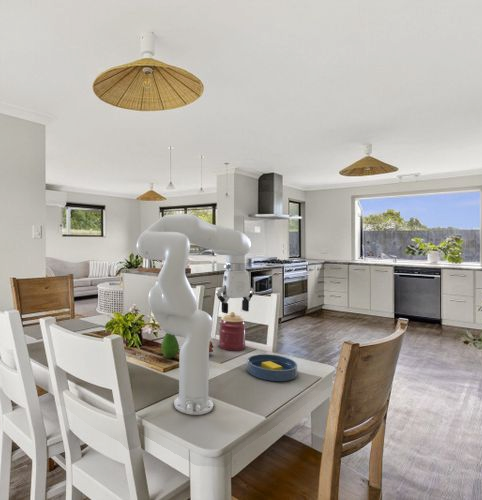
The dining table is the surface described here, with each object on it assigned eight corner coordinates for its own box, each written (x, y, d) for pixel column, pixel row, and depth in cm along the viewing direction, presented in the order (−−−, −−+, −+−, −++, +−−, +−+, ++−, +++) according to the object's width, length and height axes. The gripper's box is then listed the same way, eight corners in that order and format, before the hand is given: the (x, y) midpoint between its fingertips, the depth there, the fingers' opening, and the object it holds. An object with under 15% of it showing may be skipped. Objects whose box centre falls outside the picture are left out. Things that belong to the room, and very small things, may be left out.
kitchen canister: (218, 350, 175) (219, 314, 174) (218, 342, 188) (219, 308, 187) (246, 351, 173) (247, 315, 172) (244, 343, 186) (245, 309, 185)
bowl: (303, 383, 136) (303, 371, 136) (251, 381, 138) (251, 369, 138) (289, 365, 155) (289, 355, 155) (244, 363, 157) (244, 353, 157)
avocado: (159, 360, 160) (159, 333, 160) (163, 354, 168) (163, 329, 167) (177, 362, 158) (177, 335, 158) (180, 356, 166) (180, 330, 166)
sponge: (282, 373, 144) (282, 366, 144) (273, 375, 142) (273, 368, 142) (269, 367, 151) (269, 360, 151) (261, 369, 149) (261, 362, 149)
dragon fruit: (212, 355, 172) (197, 366, 163) (199, 342, 175) (184, 352, 167) (220, 344, 167) (206, 354, 158) (207, 331, 171) (192, 340, 162)
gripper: (223, 269, 131) (222, 315, 132) (260, 267, 139) (259, 311, 139) (211, 267, 138) (210, 311, 139) (247, 266, 145) (246, 308, 146)
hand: (235, 311), depth 139 cm, fingers open, 9 cm apart
